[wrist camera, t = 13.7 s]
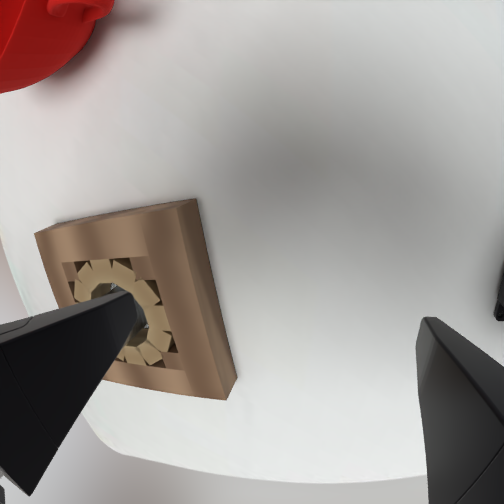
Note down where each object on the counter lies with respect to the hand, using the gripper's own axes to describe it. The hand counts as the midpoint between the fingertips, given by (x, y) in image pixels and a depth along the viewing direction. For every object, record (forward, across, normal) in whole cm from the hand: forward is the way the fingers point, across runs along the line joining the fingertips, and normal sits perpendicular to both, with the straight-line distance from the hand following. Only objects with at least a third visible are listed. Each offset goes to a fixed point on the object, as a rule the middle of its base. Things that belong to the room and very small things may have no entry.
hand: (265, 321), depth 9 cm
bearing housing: (+13, +15, +8) cm, 21 cm away
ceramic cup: (+13, +18, -17) cm, 28 cm away
